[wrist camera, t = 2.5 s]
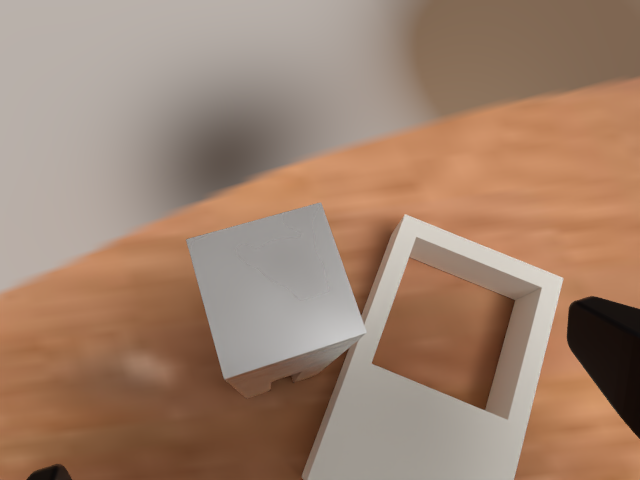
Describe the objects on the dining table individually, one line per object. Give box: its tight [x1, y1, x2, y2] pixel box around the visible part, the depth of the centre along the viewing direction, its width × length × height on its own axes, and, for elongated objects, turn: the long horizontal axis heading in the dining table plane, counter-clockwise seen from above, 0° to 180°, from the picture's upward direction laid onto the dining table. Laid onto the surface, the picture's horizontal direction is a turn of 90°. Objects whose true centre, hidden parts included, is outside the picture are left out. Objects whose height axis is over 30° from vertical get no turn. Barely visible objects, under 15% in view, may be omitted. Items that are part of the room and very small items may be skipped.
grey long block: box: [186, 203, 367, 399], centre depth 17 cm, size 3×3×12 cm
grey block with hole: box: [302, 214, 563, 480], centre depth 22 cm, size 11×7×2 cm, turn 158°
